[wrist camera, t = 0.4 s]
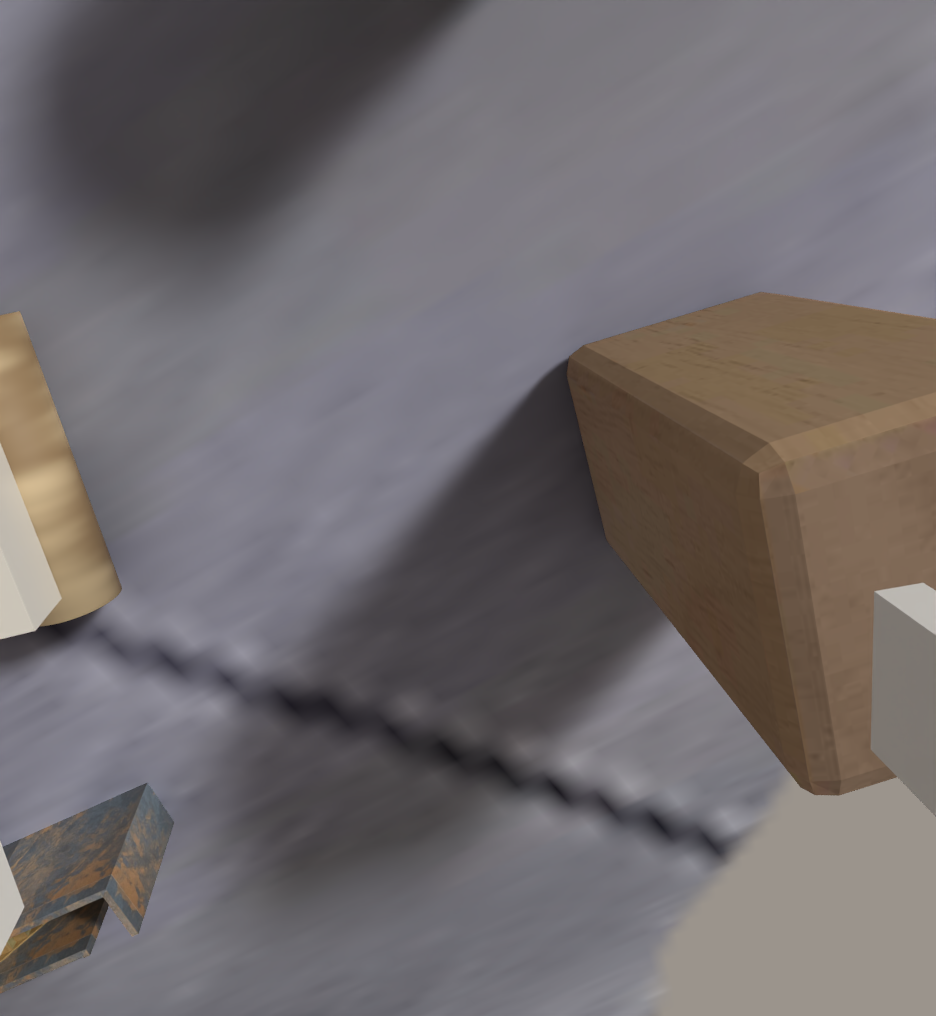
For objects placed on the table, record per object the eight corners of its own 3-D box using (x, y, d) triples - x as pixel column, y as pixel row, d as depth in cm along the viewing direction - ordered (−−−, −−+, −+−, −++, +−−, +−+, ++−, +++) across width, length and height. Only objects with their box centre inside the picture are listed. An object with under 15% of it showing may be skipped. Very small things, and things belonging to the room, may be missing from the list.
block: (605, 552, 42) (809, 822, 23) (556, 349, 38) (746, 466, 19) (804, 491, 42) (1172, 708, 23) (772, 284, 39) (1168, 336, 20)
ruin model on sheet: (-23, 913, 44) (-125, 1094, 35) (-59, 869, 43) (-173, 1043, 34) (180, 823, 44) (131, 981, 35) (149, 777, 43) (90, 926, 34)
